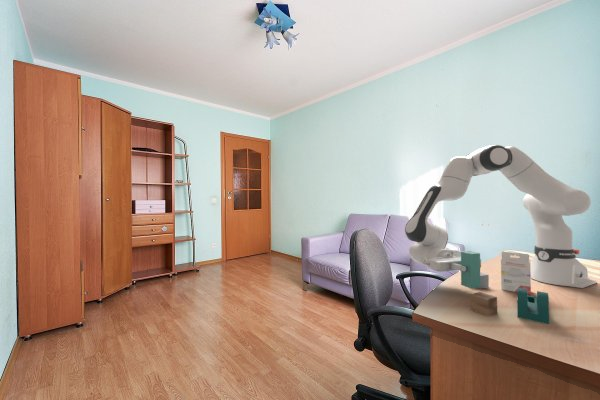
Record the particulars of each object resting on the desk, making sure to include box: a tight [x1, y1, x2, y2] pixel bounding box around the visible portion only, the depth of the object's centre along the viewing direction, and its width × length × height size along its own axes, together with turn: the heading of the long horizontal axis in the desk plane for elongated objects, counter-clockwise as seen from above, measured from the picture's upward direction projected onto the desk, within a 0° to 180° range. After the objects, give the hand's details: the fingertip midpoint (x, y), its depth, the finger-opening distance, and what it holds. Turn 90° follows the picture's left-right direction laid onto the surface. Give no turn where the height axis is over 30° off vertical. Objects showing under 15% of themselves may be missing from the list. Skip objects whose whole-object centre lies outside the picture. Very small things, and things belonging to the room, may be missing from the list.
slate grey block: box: [479, 272, 490, 289], centre depth 104 cm, size 5×5×5 cm
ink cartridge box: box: [500, 251, 532, 295], centre depth 98 cm, size 9×5×15 cm, turn 47°
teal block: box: [460, 250, 481, 289], centre depth 91 cm, size 4×4×12 cm
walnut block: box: [469, 291, 498, 317], centre depth 80 cm, size 5×5×5 cm
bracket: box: [516, 288, 550, 325], centre depth 81 cm, size 18×7×8 cm, turn 139°
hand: (472, 268), depth 91 cm, fingers closed on teal block, 4 cm apart
